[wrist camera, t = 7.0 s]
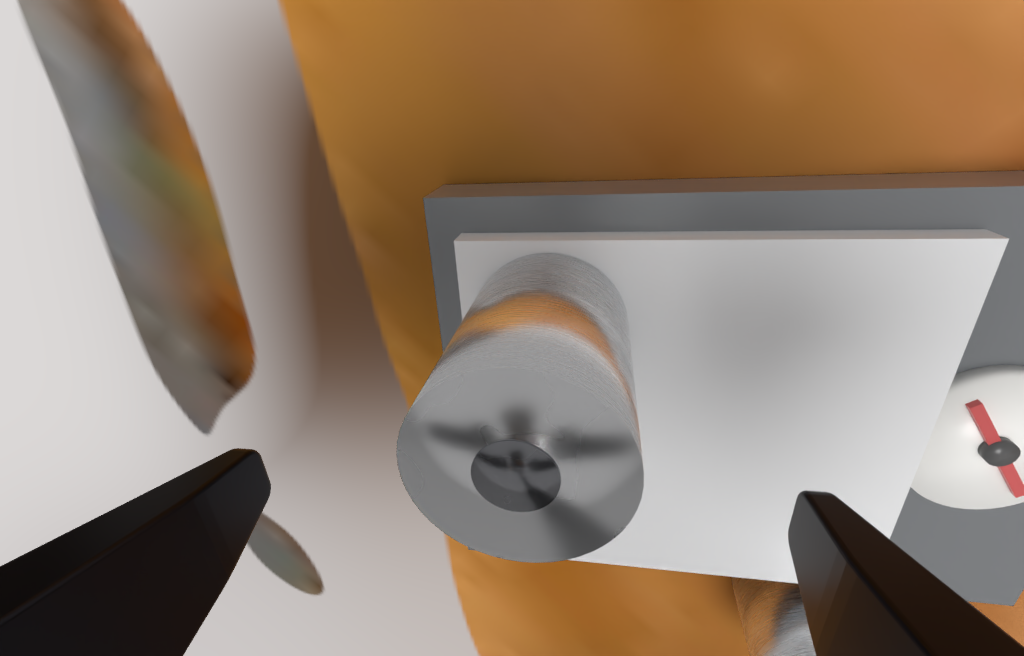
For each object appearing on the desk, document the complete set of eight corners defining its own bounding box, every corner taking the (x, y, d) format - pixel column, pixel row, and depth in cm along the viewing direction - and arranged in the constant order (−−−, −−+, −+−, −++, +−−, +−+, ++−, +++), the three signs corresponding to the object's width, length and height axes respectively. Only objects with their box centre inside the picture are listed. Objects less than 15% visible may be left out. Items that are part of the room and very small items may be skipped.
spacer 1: (624, 396, 15) (636, 577, 9) (479, 388, 15) (412, 552, 10) (632, 252, 13) (653, 377, 7) (466, 252, 13) (376, 364, 8)
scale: (974, 555, 19) (1033, 632, 16) (479, 511, 22) (463, 568, 19) (1174, 166, 12) (1323, 189, 10) (443, 184, 16) (412, 205, 13)
